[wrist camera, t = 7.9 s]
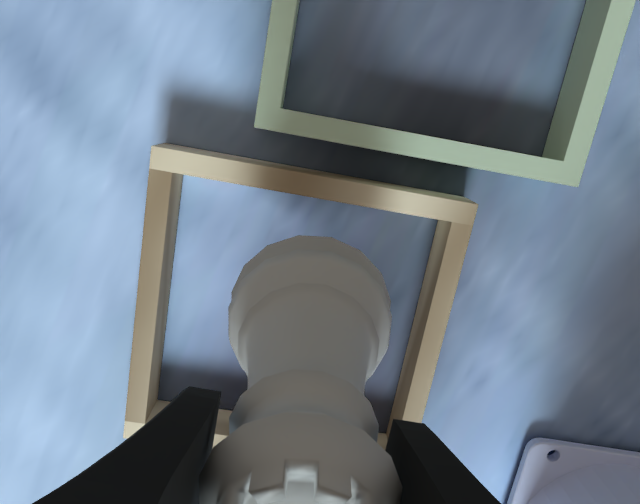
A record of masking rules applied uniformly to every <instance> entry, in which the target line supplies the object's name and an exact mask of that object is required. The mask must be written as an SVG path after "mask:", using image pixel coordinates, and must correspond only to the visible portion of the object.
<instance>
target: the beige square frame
mask: <svg viewBox="0 0 640 504" xmlns="http://www.w3.org/2000/svg"><path fill="white" fill-rule="evenodd" d="M183 175H189V176H195V177H200V178H206V179H212V180H217V181H223V182H229V183H234V184H240V185H246V186H251V187H257V188H263V189H268V190H274V191H280V192H285V193H291V194H297V195H302V196H308V197H313V198H319V199H325V200H330V201H336V202H342V203H347V204H353V205H359V206H364V207H370V208H376V209H381V210H387V211H393V212H398V213H404V214H410V215H415V216H421V217H427V218H432V219H438V223H437V227H436V231H435V235H434V239H433V243H432V247H431V251H430V255H429V259H428V264H427V268H426V272H425V276H424V280H423V284H422V288H421V292H420V296H419V301H418V305H417V309H416V313H415V317H414V321H413V325H412V329H411V333H410V337H409V342H408V346H407V350H406V354H405V358H404V362H403V366H402V370H401V374H400V379H399V383H398V387H397V391H396V395H395V399H394V403H393V407H392V411H391V415H390V420H389V424H388V428H387V432H386V434H385V433H378V438H377V443H378V444H379V445H380V446H381V447H382V448H383V449H384V450H385V449H386V445H387V441H388V437H389V433H390V430H391V426H392V422H393V419H398V420H404V421H411V422H417V423H421V422H422V418H423V414H424V411H425V407H426V403H427V399H428V395H429V391H430V388H431V384H432V380H433V376H434V372H435V369H436V365H437V361H438V357H439V353H440V349H441V346H442V342H443V338H444V334H445V330H446V327H447V323H448V319H449V315H450V311H451V307H452V304H453V300H454V296H455V292H456V288H457V284H458V281H459V277H460V273H461V269H462V265H463V262H464V258H465V254H466V250H467V246H468V242H469V239H470V235H471V231H472V227H473V223H474V220H475V216H476V212H477V208H478V204H476V203H475V202H473V201H471V200H469V199H467V198H465V197H462V196H457V195H451V194H446V193H440V192H435V191H429V190H424V189H418V188H413V187H407V186H401V185H396V184H390V183H385V182H379V181H374V180H368V179H363V178H357V177H352V176H346V175H341V174H335V173H329V172H324V171H318V170H313V169H307V168H302V167H296V166H291V165H285V164H280V163H274V162H268V161H263V160H257V159H252V158H246V157H241V156H235V155H230V154H224V153H219V152H213V151H208V150H202V149H196V148H191V147H185V146H180V145H174V144H169V143H163V144H158V145H153V146H151V157H150V167H149V177H148V188H147V198H146V208H145V218H144V229H143V239H142V249H141V260H140V270H139V280H138V291H137V301H136V311H135V322H134V332H133V342H132V353H131V363H130V373H129V383H128V394H127V404H126V414H125V425H124V435H123V438H126V439H128V438H129V437H130V436H131V435H133V434H134V433H135V432H136V431H138V430H139V429H140V428H141V427H143V426H144V425H145V424H146V423H147V422H149V421H150V420H151V419H152V418H153V417H154V416H156V415H157V414H158V413H159V412H160V411H161V410H162V409H164V408H165V407H166V406H167V405H168V404H169V403H170V402H169V401H162V400H158V391H159V382H160V373H161V365H162V356H163V347H164V338H165V329H166V321H167V312H168V303H169V294H170V285H171V277H172V268H173V259H174V250H175V241H176V233H177V224H178V215H179V206H180V197H181V189H182V180H183ZM231 413H232V411H230V410H223V409H219V410H218V416H217V422H216V429H215V435H214V442H213V447H214V446H215V445H217V444H218V443H219V442H221V441H222V440H223V439H225V438H226V437H227V436H229V417H230V415H231ZM212 449H213V448H212Z"/></svg>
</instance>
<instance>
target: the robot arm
mask: <svg viewBox="0 0 640 504" xmlns="http://www.w3.org/2000/svg"><path fill="white" fill-rule="evenodd" d="M220 397H221V392H220V391H214V390H208V389H201V388H195V387H188V388H186V389H185V390H183V391H182V392H181V393H180V394H179V395H178V396H177V397H176V398H174V399H173V400H172V401H171V402H170V403H169V404H168V405H167V406H166V407H165V408H164V409H162V410H161V411H160V412H159V413H158V414H157V415H156V416H154V417H153V418H152V419H151V420H150V421H149V422H147V423H146V424H145V425H144V426H143V427H141V428H140V429H139V430H138V431H136V432H135V433H134V434H133V435H131V436H130V437H129V438H128V439H127V440H125V441H124V442H123V443H122V444H120V445H119V446H118V447H116V448H115V449H114V450H112V451H111V452H109V453H108V454H107V455H105V456H104V457H103V458H101V459H100V460H98V461H97V462H96V463H94V464H93V465H91V466H90V467H89V468H87V469H86V470H84V471H83V472H82V473H80V474H79V475H77V476H76V477H74V478H73V479H71V480H70V481H68V482H67V483H65V484H64V485H62V486H60V487H59V488H57V489H56V490H54V491H52V492H51V493H49V494H48V495H46V496H44V497H43V498H41V499H39V500H38V501H36V502H34V503H32V504H199V474H200V472H201V470H202V469H203V467H204V465H205V463H206V461H207V459H208V457H209V455H210V453H211V451H212V448H213V442H214V435H215V429H216V422H217V416H218V410H219V403H220ZM551 450H555V452H554V453H553V454H551V455H547V454H548V452H550V451H551ZM385 451H386V452H387V453H388V454H389V455H390V456H391V457H392V460H393V463H394V466H395V468H396V471H397V474H398V476H399V479H400V482H401V484H402V494H401V501H400V504H501V503H500V502H499V501H498V500H497V499H496V498H495V497H494V496H493V495H492V494H491V493H490V492H489V491H488V490H487V489H486V488H485V487H484V486H483V485H482V484H481V483H480V482H479V481H478V480H477V479H476V478H475V476H474V475H473V474H472V473H471V472H470V471H469V470H468V469H467V468H466V467H465V466H464V465H463V464H462V463H461V462H460V460H459V459H458V458H457V457H456V456H455V455H454V454H453V453H452V452H451V451H450V450H449V449H448V448H447V446H446V445H445V444H444V443H443V442H442V441H441V440H440V439H439V438H438V437H437V436H436V435H435V434H434V433H433V432H432V431H431V430H430V429H429V428H428V427H427V426H426V425H425V424H423V423H417V422H411V421H404V420H398V419H393V422H392V426H391V430H390V433H389V437H388V441H387V445H386V449H385ZM507 504H640V452H634V451H627V450H621V449H614V448H607V447H601V446H594V445H587V444H581V443H574V442H568V441H561V440H554V439H548V438H534V439H531V440H530V441H529V442H528V443H527V445H526V446H525V449H524V452H523V455H522V459H521V462H520V465H519V468H518V471H517V474H516V477H515V480H514V483H513V486H512V489H511V493H510V496H509V499H508V502H507Z"/></svg>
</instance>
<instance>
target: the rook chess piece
mask: <svg viewBox="0 0 640 504" xmlns="http://www.w3.org/2000/svg"><path fill="white" fill-rule="evenodd" d="M390 304H391V300H390V297H389V294H388V291H387V288H386V285H385V282H384V279H383V276H382V273H381V272H380V271H379V270H378V269H377V268H376V267H375V266H374V265H373V264H372V263H371V261H370V260H369V259H368V258H367V257H366V256H365V255H364V254H363V253H362V252H361V251H360V250H358V249H356V248H353V247H351V246H349V245H347V244H345V243H343V242H340V241H338V240H336V239H334V238H332V237H317V236H300V235H298V236H295V237H292V238H289V239H286V240H283V241H280V242H277V243H274V244H271V245H267V246H266V247H265V248H264V249H263V250H262V251H260V252H259V253H258V254H257V255H256V256H255V257H254V258H252V259H251V260H250V261H249V262H248V263H247V264H245V265H244V267H243V269H242V271H241V273H240V275H239V277H238V280H237V282H236V284H235V286H234V288H233V290H232V301H231V303H230V305H229V340H230V344H231V346H232V348H233V350H234V352H235V355H236V357H237V359H238V361H239V363H240V365H241V367H242V369H243V370H244V371H245V372H246V374H247V377H248V388H247V390H246V391H245V392H244V393H243V394H241V395H240V397H239V399H238V401H237V403H236V405H235V407H234V409H233V411H232V413H231V415H230V417H229V436H227V437H226V438H225V439H223V440H222V441H221V442H219V443H218V444H217V445H215V446H214V447H213V449H212V451H211V453H210V455H209V457H208V459H207V461H206V463H205V465H204V467H203V469H202V470H201V472H200V474H199V504H400V501H401V494H402V484H401V482H400V479H399V476H398V474H397V471H396V468H395V466H394V463H393V460H392V457H391V456H390V455H389V454H388V453H387V452H386V451H385V450H384V449H383V448H382V447H381V446H380V445H379V444H378V443H377V438H378V430H379V424H378V422H377V419H376V416H375V414H374V411H373V408H372V406H371V403H370V401H369V400H368V399H367V398H366V397H365V396H364V390H365V383H366V381H367V380H368V378H369V377H371V376H372V375H373V373H374V371H375V370H376V368H377V366H378V365H379V363H380V361H381V360H382V358H383V357H384V355H385V353H386V352H387V349H388V346H389V338H390V330H391V322H392V314H391V312H390Z"/></svg>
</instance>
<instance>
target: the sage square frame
mask: <svg viewBox="0 0 640 504" xmlns="http://www.w3.org/2000/svg"><path fill="white" fill-rule="evenodd" d="M635 1H636V0H586V4H585V7H584V11H583V14H582V18H581V21H580V25H579V28H578V32H577V35H576V39H575V42H574V46H573V49H572V53H571V56H570V60H569V63H568V67H567V70H566V74H565V77H564V81H563V84H562V88H561V91H560V95H559V98H558V102H557V105H556V109H555V112H554V116H553V119H552V123H551V126H550V130H549V133H548V137H547V140H546V144H545V147H544V151H543V154H542V157H538V156H532V155H527V154H522V153H516V152H511V151H506V150H500V149H495V148H490V147H484V146H479V145H474V144H468V143H463V142H458V141H452V140H447V139H442V138H436V137H431V136H426V135H420V134H415V133H410V132H404V131H399V130H394V129H388V128H383V127H378V126H372V125H367V124H362V123H356V122H351V121H346V120H340V119H335V118H330V117H324V116H319V115H314V114H308V113H303V112H298V111H292V110H287V109H283V104H284V98H285V91H286V85H287V79H288V72H289V66H290V60H291V53H292V47H293V40H294V34H295V28H296V21H297V15H298V9H299V2H300V0H272V6H271V13H270V19H269V26H268V33H267V40H266V47H265V54H264V61H263V68H262V75H261V82H260V88H259V95H258V102H257V109H256V116H255V123H254V128H260V129H265V130H270V131H276V132H281V133H287V134H292V135H298V136H303V137H308V138H314V139H319V140H325V141H330V142H335V143H341V144H346V145H352V146H357V147H363V148H368V149H373V150H379V151H384V152H390V153H395V154H401V155H406V156H411V157H417V158H422V159H428V160H433V161H438V162H444V163H449V164H455V165H460V166H466V167H471V168H476V169H482V170H487V171H493V172H498V173H504V174H509V175H514V176H520V177H525V178H531V179H536V180H542V181H547V182H552V183H558V184H563V185H569V186H574V187H578V186H579V183H580V179H581V176H582V173H583V170H584V166H585V163H586V160H587V157H588V153H589V150H590V147H591V144H592V140H593V137H594V134H595V131H596V127H597V124H598V121H599V118H600V115H601V111H602V108H603V105H604V102H605V98H606V95H607V92H608V89H609V85H610V82H611V79H612V76H613V72H614V69H615V66H616V63H617V59H618V56H619V53H620V50H621V46H622V43H623V40H624V37H625V33H626V30H627V27H628V24H629V20H630V17H631V14H632V11H633V7H634V4H635Z"/></svg>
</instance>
